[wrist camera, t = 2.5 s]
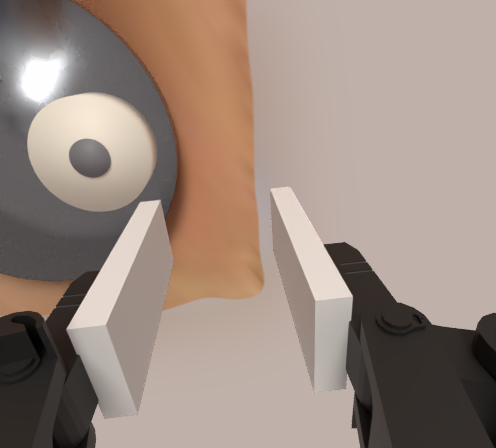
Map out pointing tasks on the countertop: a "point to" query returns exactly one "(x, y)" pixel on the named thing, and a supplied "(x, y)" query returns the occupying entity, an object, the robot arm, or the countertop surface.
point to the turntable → (37, 97)
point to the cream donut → (92, 150)
